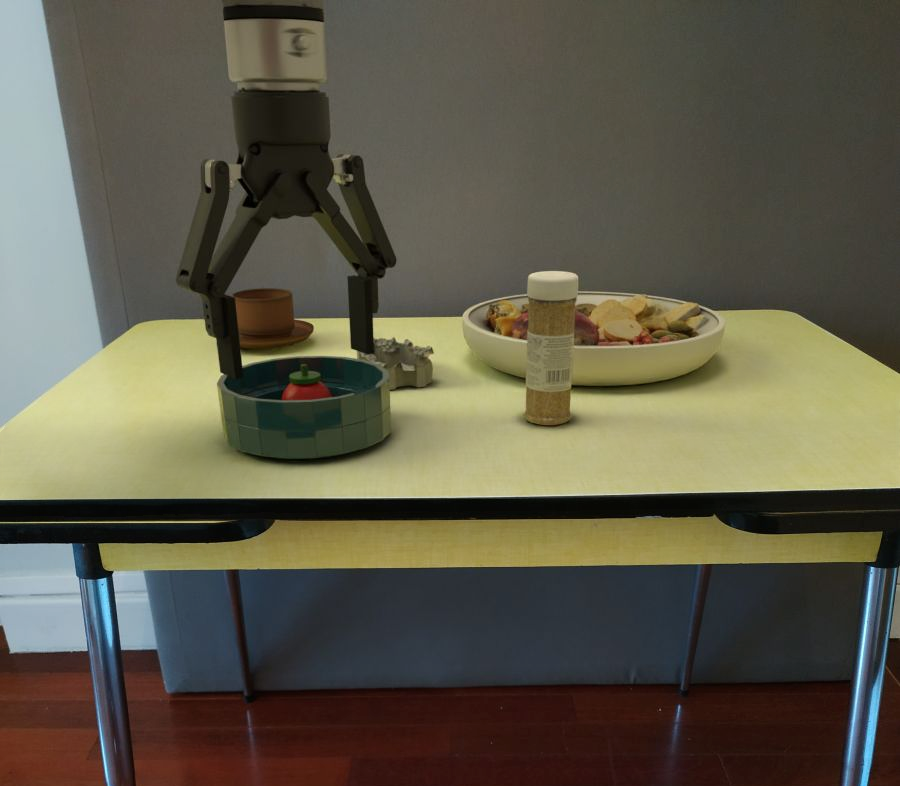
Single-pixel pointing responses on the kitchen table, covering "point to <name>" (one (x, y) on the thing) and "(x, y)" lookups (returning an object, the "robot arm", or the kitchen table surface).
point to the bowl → (603, 337)
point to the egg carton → (402, 362)
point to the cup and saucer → (268, 319)
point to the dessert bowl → (306, 408)
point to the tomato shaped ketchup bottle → (305, 386)
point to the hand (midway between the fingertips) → (300, 362)
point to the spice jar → (550, 346)
